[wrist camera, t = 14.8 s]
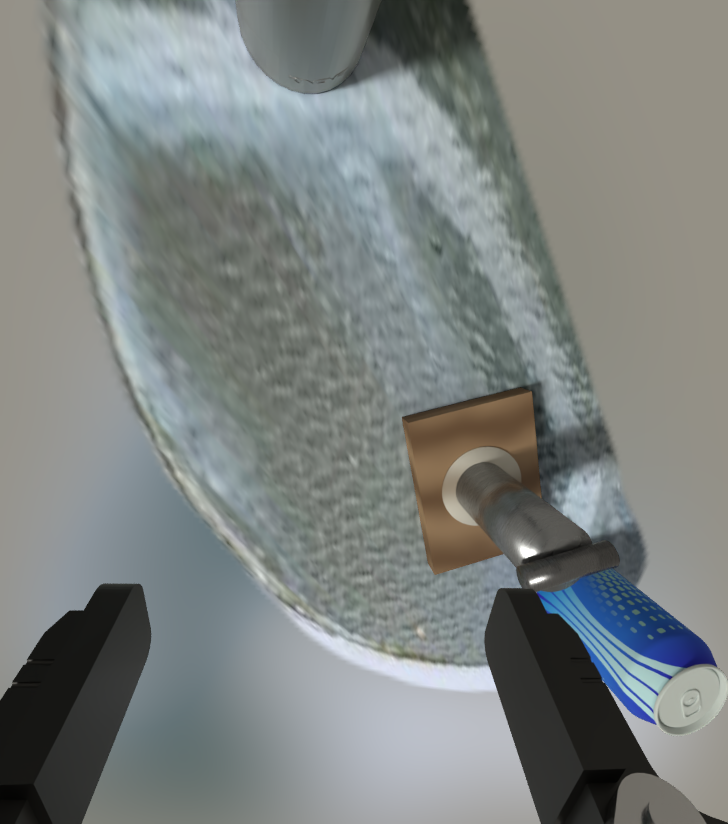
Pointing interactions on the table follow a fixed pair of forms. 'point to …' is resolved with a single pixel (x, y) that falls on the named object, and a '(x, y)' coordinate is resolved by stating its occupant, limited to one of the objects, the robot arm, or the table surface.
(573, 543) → the grey cylinder
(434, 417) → the block
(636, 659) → the beer can
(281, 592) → the table surface
